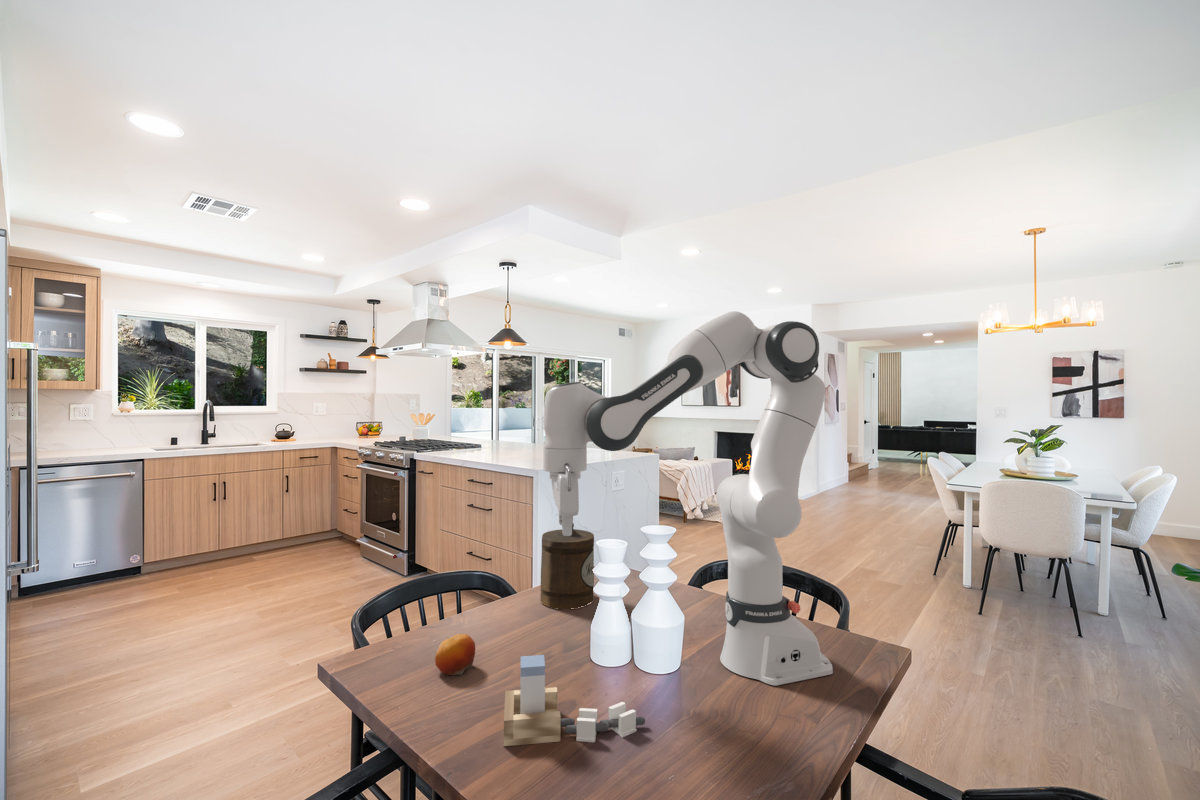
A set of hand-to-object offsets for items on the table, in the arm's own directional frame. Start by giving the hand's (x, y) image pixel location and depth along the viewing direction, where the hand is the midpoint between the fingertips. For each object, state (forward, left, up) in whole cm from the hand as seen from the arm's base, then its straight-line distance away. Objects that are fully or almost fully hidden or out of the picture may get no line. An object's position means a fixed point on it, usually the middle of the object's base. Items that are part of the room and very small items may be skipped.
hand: (565, 529), depth 109 cm
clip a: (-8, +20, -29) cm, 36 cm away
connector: (+7, +18, -28) cm, 34 cm away
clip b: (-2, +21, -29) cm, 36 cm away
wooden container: (-4, -40, -29) cm, 50 cm away
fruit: (+22, -4, -29) cm, 37 cm away
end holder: (+7, +18, -29) cm, 35 cm away
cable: (-4, +20, -28) cm, 35 cm away
